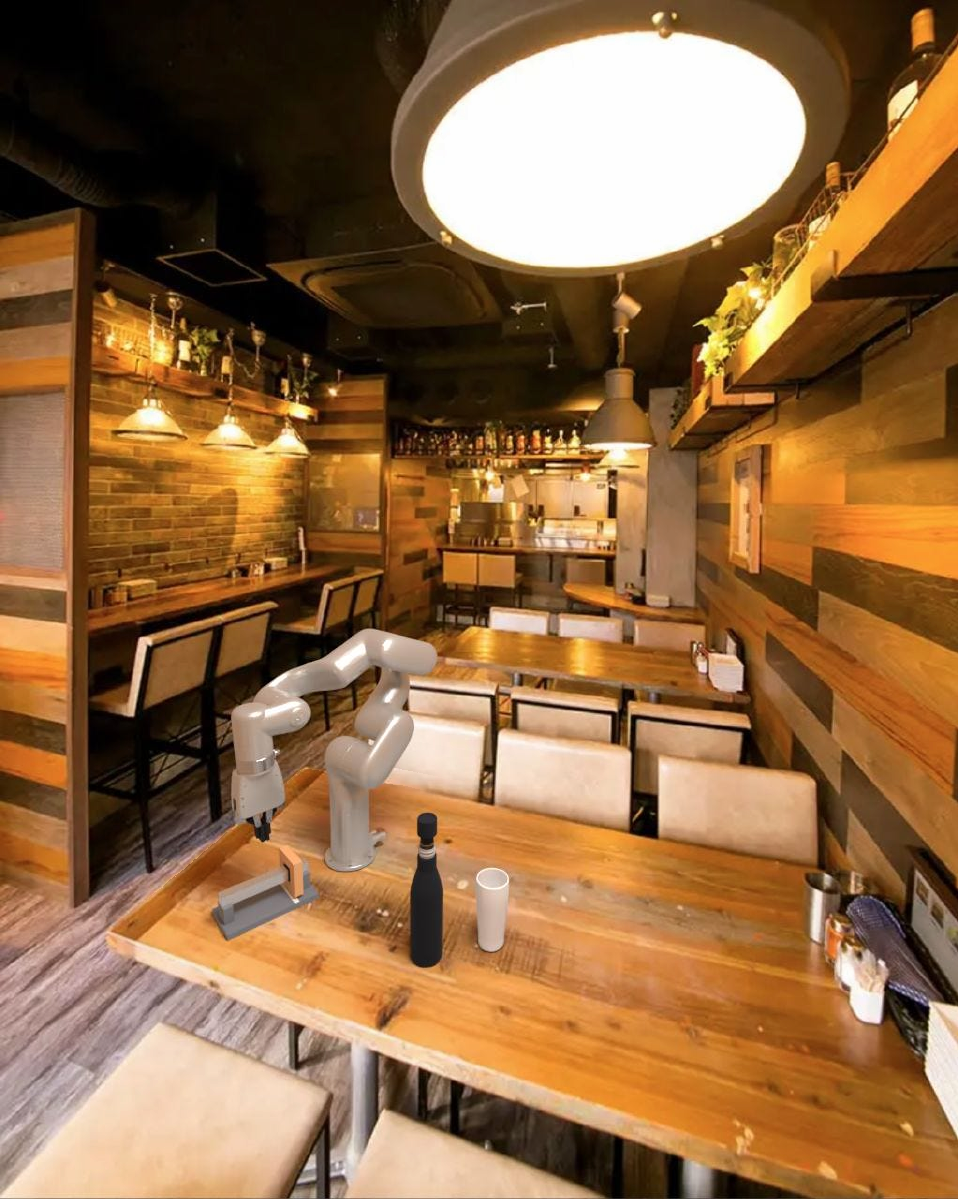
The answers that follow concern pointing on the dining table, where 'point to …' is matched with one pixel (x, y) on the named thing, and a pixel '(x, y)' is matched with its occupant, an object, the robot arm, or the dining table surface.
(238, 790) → the robot arm
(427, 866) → the black bottle
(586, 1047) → the dining table surface
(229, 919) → the pipe board
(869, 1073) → the dining table surface
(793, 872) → the dining table surface
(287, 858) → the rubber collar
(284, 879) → the grey long bar
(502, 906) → the drinking glass
